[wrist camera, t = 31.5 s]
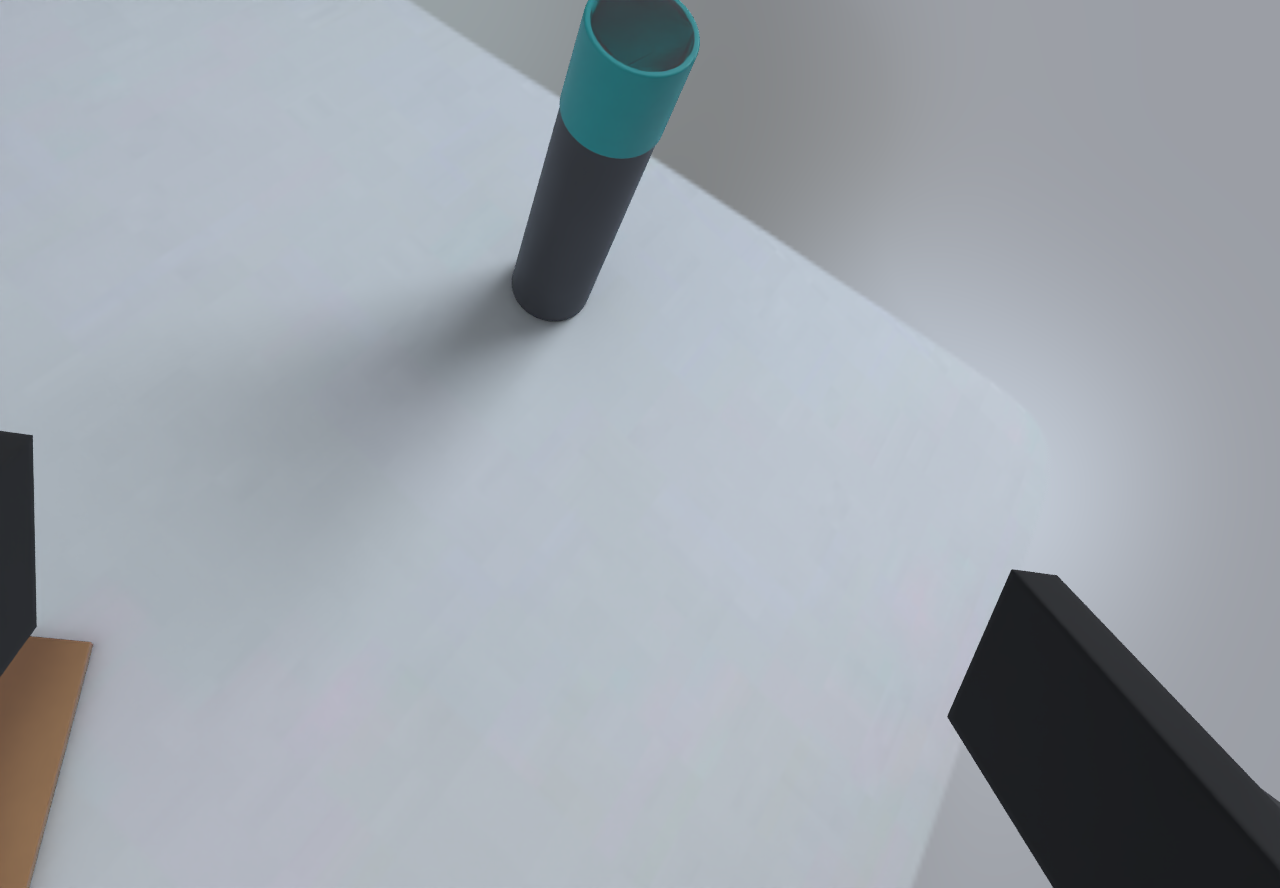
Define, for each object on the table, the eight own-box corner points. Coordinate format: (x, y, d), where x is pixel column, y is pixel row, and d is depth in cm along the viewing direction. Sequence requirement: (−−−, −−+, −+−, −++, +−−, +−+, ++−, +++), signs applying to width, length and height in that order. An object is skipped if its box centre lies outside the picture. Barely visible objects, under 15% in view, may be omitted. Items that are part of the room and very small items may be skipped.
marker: (592, 260, 33) (702, -4, 23) (586, 329, 32) (698, 89, 22) (514, 244, 33) (589, -34, 22) (505, 315, 32) (579, 60, 21)
